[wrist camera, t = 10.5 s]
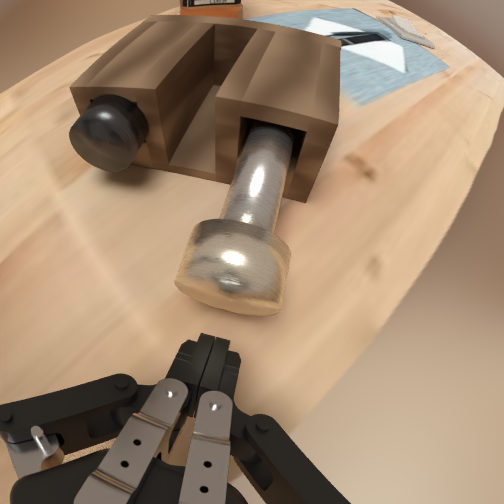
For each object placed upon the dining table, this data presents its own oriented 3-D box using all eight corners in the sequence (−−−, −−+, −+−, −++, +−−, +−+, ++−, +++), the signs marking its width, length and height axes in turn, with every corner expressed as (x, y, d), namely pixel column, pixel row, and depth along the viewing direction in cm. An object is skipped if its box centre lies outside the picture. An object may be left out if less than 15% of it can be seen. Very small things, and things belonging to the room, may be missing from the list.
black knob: (83, 166, 22) (59, 119, 16) (155, 69, 28) (151, 28, 23) (138, 176, 21) (121, 123, 16) (202, 73, 28) (202, 30, 23)
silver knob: (181, 298, 18) (166, 264, 13) (241, 130, 24) (246, 77, 19) (271, 321, 18) (290, 296, 13) (306, 145, 24) (322, 94, 19)
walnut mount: (97, 159, 25) (68, 87, 17) (158, 76, 31) (151, 15, 23) (306, 203, 25) (339, 125, 17) (320, 104, 31) (341, 40, 23)
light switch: (410, 18, 51) (439, 38, 45) (406, 29, 55) (433, 51, 49) (377, 8, 50) (405, 26, 44) (373, 20, 53) (400, 40, 48)
